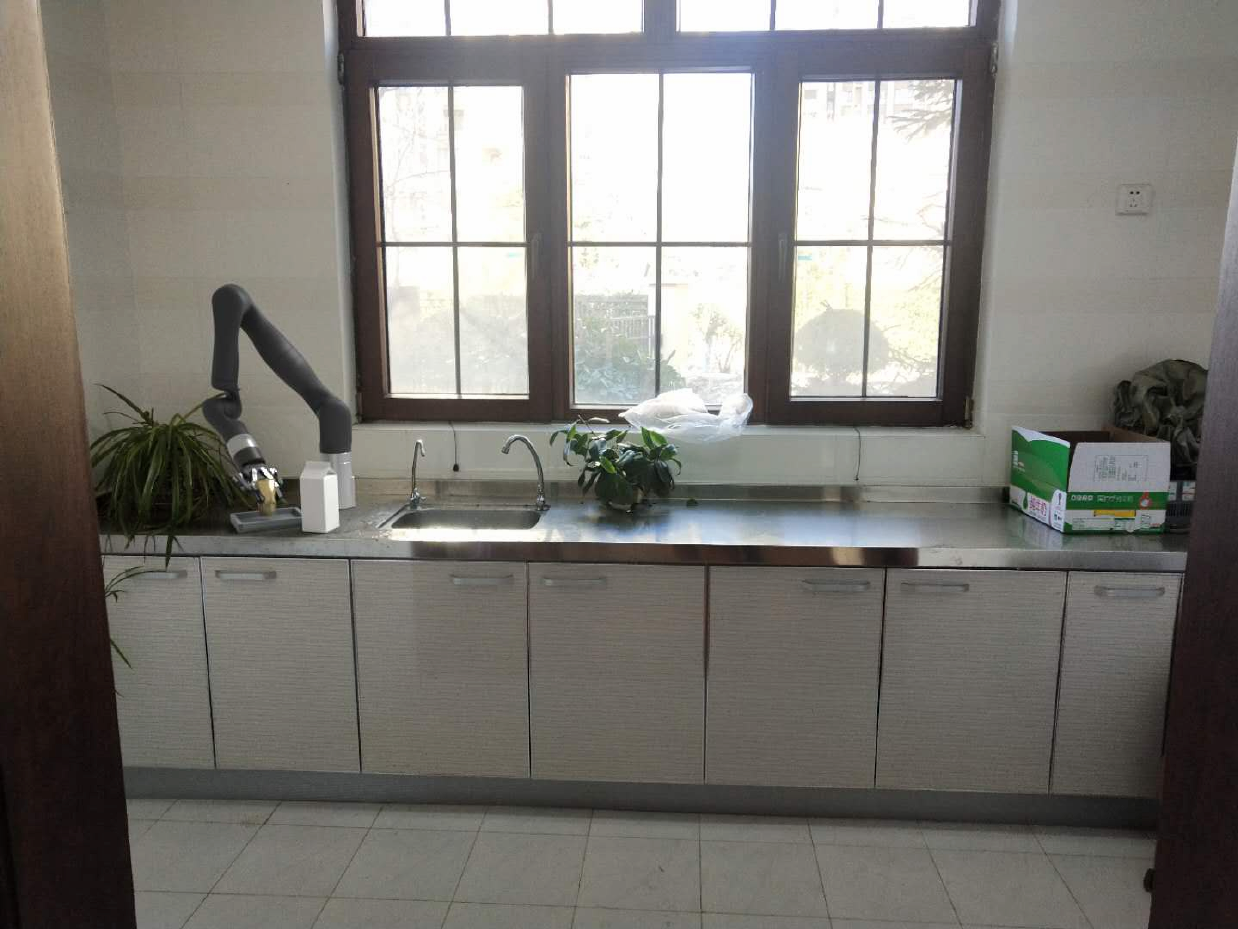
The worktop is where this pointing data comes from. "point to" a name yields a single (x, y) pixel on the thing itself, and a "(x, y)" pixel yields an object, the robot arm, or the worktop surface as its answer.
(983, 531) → the worktop surface
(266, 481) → the brass bushing
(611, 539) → the worktop surface
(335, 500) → the milk carton
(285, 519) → the tray
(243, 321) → the robot arm
